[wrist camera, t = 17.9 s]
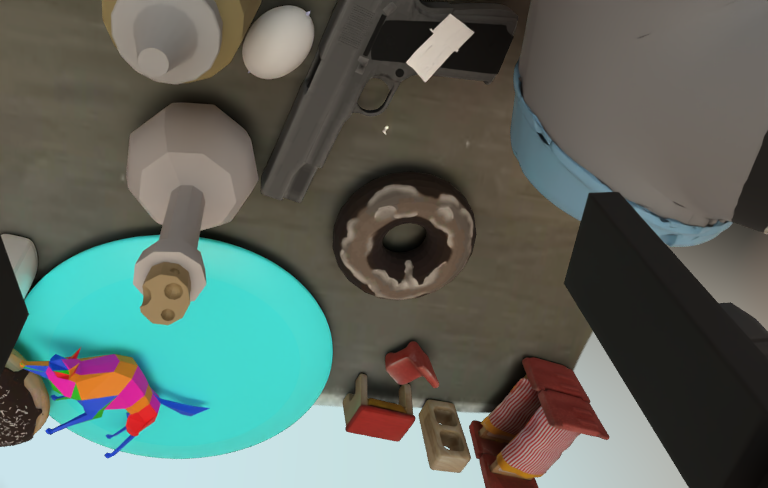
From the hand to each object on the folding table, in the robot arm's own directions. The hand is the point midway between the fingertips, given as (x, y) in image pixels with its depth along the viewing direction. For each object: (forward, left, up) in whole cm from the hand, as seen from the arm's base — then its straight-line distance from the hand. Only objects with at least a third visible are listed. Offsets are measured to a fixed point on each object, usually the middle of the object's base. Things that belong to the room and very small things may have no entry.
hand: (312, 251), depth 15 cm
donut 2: (+1, +22, -32) cm, 38 cm away
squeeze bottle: (+5, -2, -32) cm, 32 cm away
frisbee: (+24, +25, -31) cm, 47 cm away
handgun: (-6, +16, -30) cm, 34 cm away
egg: (+2, +5, -29) cm, 29 cm away
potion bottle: (+12, +8, -32) cm, 35 cm away
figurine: (+33, +24, -26) cm, 49 cm away
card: (-5, +9, -29) cm, 31 cm away
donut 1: (+37, +18, -30) cm, 51 cm away
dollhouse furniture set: (+3, +44, -32) cm, 55 cm away
